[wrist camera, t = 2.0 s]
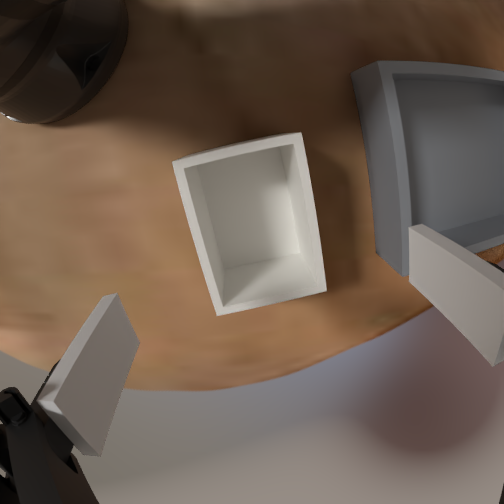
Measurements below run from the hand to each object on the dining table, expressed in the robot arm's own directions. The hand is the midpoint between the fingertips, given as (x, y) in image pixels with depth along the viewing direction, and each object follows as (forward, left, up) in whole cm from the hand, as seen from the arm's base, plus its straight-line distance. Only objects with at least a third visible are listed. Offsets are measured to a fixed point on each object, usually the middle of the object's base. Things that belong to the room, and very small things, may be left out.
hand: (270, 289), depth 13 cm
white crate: (0, 0, -15) cm, 15 cm away
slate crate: (-2, +21, -15) cm, 26 cm away
